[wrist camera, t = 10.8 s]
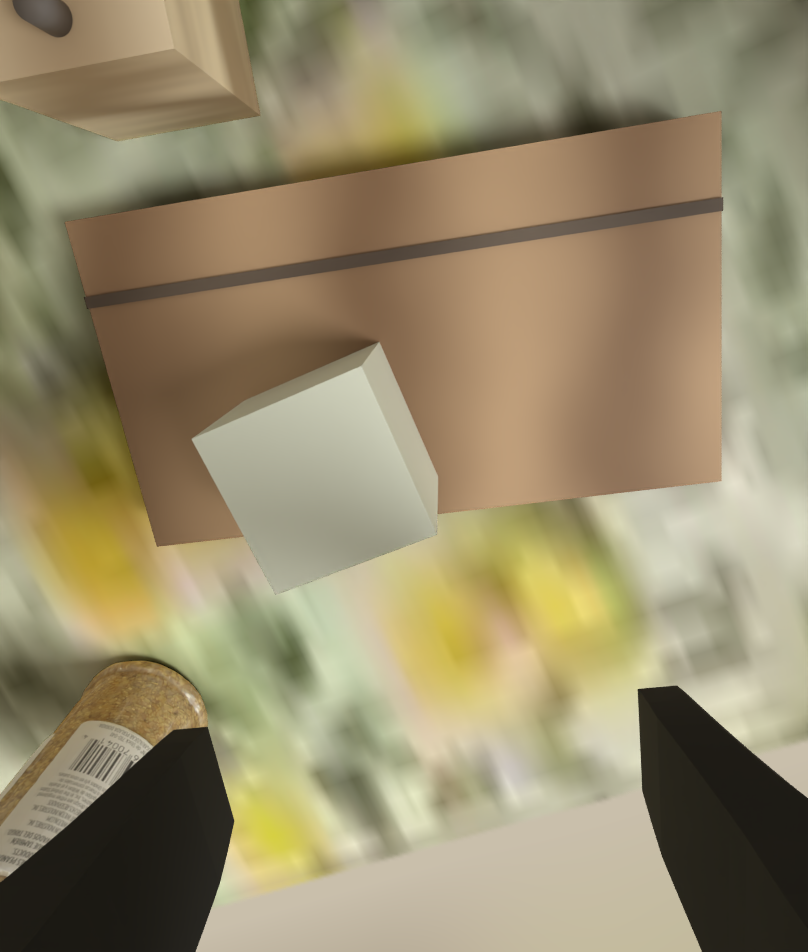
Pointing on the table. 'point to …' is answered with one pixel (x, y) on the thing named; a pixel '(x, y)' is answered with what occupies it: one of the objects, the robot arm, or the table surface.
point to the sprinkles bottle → (92, 752)
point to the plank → (436, 315)
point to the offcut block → (324, 470)
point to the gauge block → (127, 63)
